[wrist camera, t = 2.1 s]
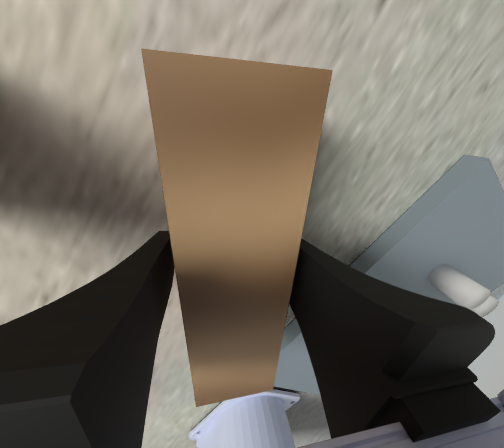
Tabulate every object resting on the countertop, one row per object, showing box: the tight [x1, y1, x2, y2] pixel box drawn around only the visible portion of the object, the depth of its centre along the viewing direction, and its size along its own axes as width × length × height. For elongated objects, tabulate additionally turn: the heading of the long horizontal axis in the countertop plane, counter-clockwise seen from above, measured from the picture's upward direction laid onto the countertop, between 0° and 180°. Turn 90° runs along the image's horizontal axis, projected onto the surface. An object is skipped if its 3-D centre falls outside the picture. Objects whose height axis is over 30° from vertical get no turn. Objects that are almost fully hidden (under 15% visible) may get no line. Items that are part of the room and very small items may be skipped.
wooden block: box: [141, 49, 332, 407], centre depth 10 cm, size 14×4×5 cm, turn 177°
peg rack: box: [274, 155, 504, 395], centre depth 17 cm, size 22×14×4 cm, turn 142°
